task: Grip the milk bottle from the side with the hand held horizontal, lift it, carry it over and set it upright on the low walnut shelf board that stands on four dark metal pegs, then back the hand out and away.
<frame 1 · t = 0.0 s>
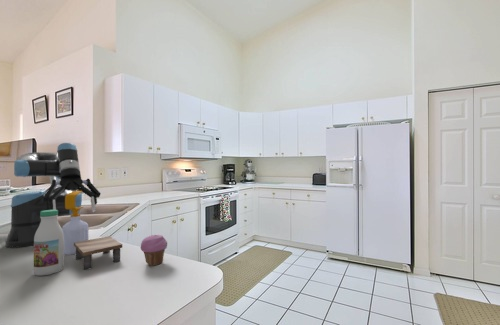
hand: (75, 213, 103), 15 cm above the counter, tool tilted 35°, fingers open, 13 cm apart
pegged shelf: (97, 259, 91), on the counter
soap bottle: (75, 251, 101), on the counter
cupcake: (154, 264, 86), on the counter
milk bottle: (49, 272, 81), on the counter
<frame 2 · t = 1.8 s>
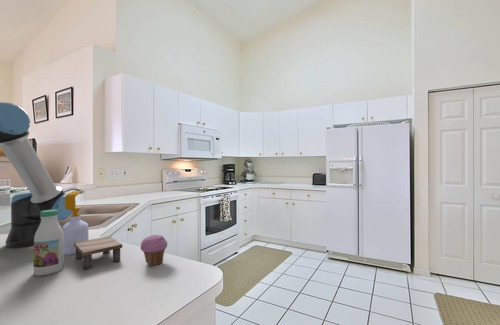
hand: (10, 199, 78), 24 cm above the counter, tool horizontal, fingers open, 13 cm apart
nothing on the counter moved.
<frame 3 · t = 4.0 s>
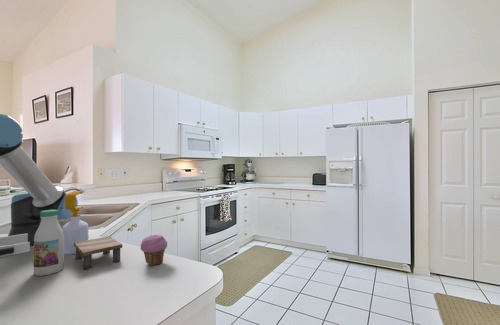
hand: (28, 241, 77), 11 cm above the counter, tool horizontal, fingers open, 13 cm apart
nothing on the counter moved.
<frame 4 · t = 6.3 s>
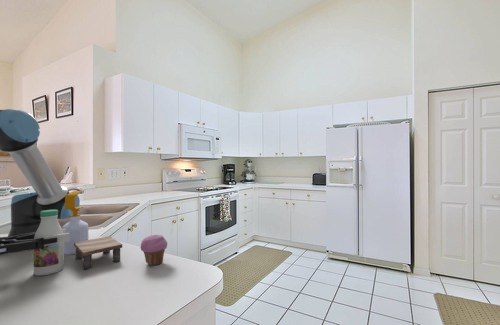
hand: (67, 234, 85), 11 cm above the counter, tool horizontal, fingers closed on milk bottle, 8 cm apart
milk bottle: (49, 271, 81), on the counter, touching gripper
everything else where it was.
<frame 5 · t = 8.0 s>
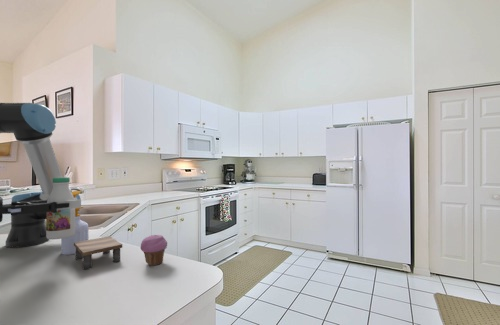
hand: (78, 202, 86), 22 cm above the counter, tool horizontal, fingers closed on milk bottle, 8 cm apart
milk bottle: (61, 237, 83), point 11 cm above the counter, touching gripper
everything else where it was.
when the fingers open (18 cm above the counter, at t = 9.9 s): milk bottle drops 1 cm, resting on pegged shelf.
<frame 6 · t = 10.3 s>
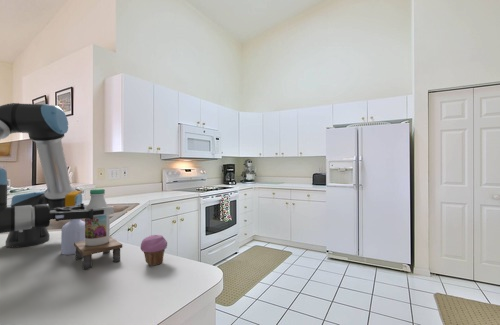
hand: (108, 208, 94), 18 cm above the counter, tool horizontal, fingers open, 12 cm apart
milk bottle: (97, 244, 91), point 6 cm above the counter, touching pegged shelf
everything else where it was.
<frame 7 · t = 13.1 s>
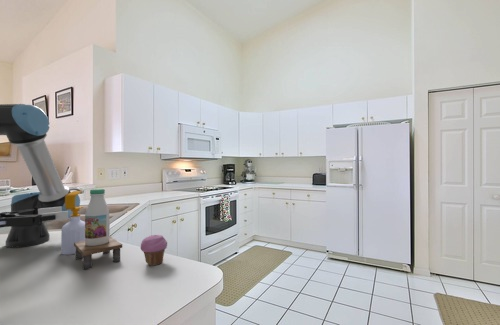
hand: (64, 212, 84), 19 cm above the counter, tool horizontal, fingers open, 13 cm apart
nothing on the counter moved.
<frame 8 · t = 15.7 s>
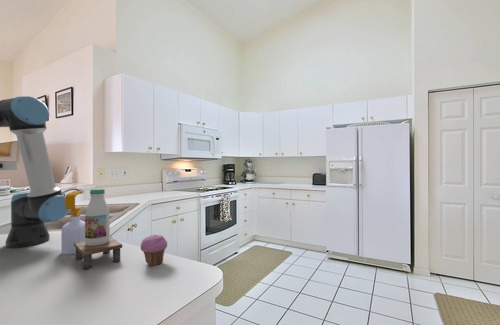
hand: (16, 166, 88), 35 cm above the counter, tool horizontal, fingers open, 13 cm apart
nothing on the counter moved.
at the end: milk bottle inside the target area on the pegged shelf (0.1 cm from its centre), point 5.8 cm above the pegged shelf's base; milk bottle tilted 0°; the gripper is holding nothing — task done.
